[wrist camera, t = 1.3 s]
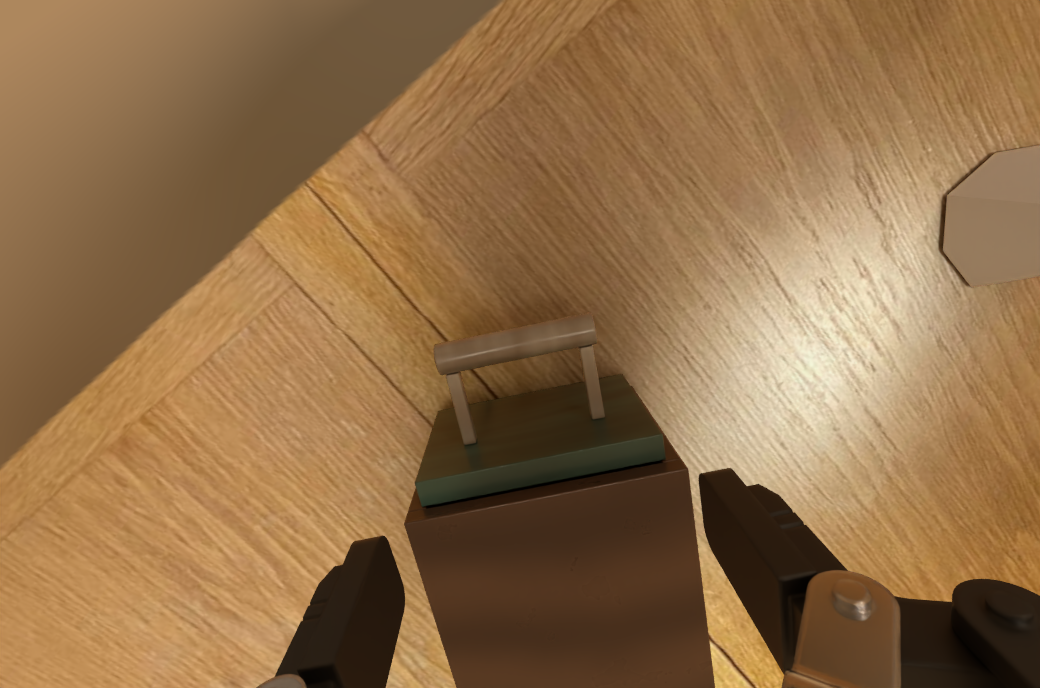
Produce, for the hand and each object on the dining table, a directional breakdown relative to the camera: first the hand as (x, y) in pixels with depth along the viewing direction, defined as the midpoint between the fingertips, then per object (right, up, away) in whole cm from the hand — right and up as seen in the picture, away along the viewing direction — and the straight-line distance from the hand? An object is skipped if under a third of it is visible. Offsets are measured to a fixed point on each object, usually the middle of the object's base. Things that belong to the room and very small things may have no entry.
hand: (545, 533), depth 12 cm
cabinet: (+1, -5, +18) cm, 19 cm away
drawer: (+1, -1, +16) cm, 16 cm away
